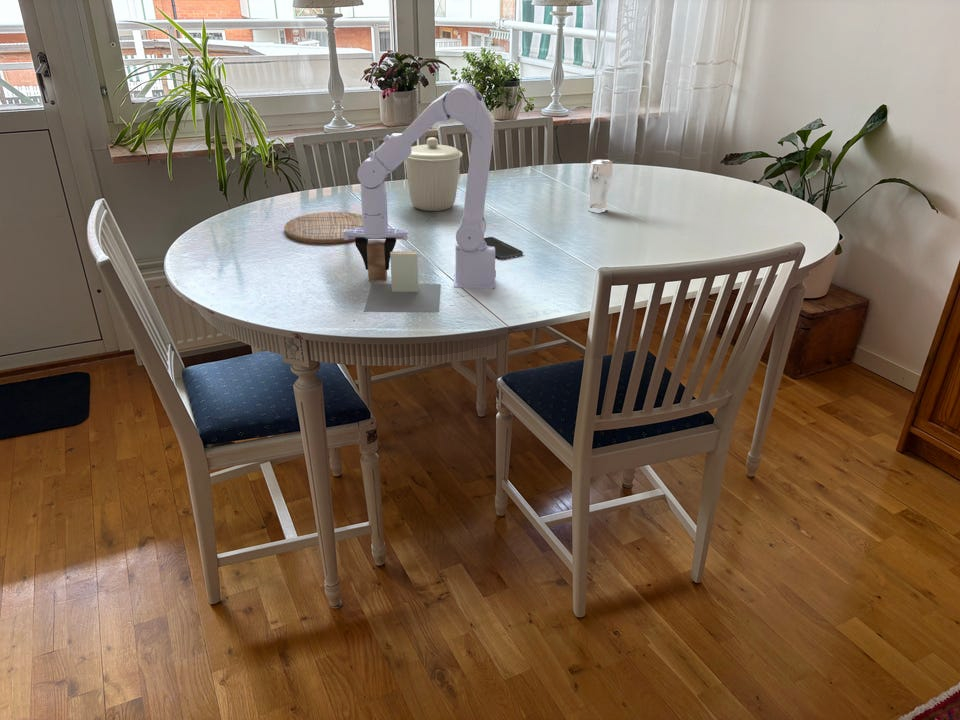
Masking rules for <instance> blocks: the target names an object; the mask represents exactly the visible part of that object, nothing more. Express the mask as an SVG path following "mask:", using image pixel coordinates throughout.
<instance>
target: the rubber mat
mask: <svg viewBox="0 0 960 720" xmlns="http://www.w3.org/2000/svg"><path fill="white" fill-rule="evenodd" d="M418 284H419V290H418V292H392V285H391V283H371V286H370V290H369V293H368V296H367V299H366V302H365V306H364V310H363V312H365V313H368V312H369V313H372V312H373V313H439V312H440V303H441V302H440V301H441V288H442V284H441V283H418Z"/></svg>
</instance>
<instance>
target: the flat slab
mask: <svg viewBox="0 0 960 720" xmlns="http://www.w3.org/2000/svg"><path fill="white" fill-rule="evenodd" d="M418 254H419V251H400V250H399V251H394V250H393V251H391V253H390V281H391V283H390V284H391V285H392V292H418V290H419V284H420V283H419V255H418Z"/></svg>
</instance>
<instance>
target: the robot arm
mask: <svg viewBox="0 0 960 720" xmlns="http://www.w3.org/2000/svg"><path fill="white" fill-rule="evenodd" d="M450 118H453V119H454V120H456V121H457V122H459V123H461V124H462V125H463V126H464V127H465V128H466V129H467V130H468V132H469V133H470V134H471V135H472V137H471V144H470V155H469V160H468V161H469V163H468V171H467V181H466V185H465V186H466V188H465V197H464V206H463V211H462V217H461V218H460V221H459V225H458V229H457V230H456V233H455V266H454V267H455V270H454V271H455V274H453V288H457V289H459V288H461V289H462V288H463V289H464V288H465V289H472V288H473V289H495V283H496V282H495V280H496V277H497V273H496V272H497V271H496V258H495V247H491V246H487V243H486V242H485V240H484V238H485V232H486V230H487V223H486V220H485V216H484V215H485V205H486V197H487V190H488V189H487V188H488V181H489V173H490V166H491V165H490V164H491V158H492V157H491V156H492V151H493V150H492V149H493V142H494V135H495V123H494V120H493V118H492V116H491V113H490V112H489V110H488V107H487V105H486V102H485V100H484V97H483V95H482V94H481V93H480V91H479V90H477V89H476V88H475V86H473V85H472V84H471V83H468V82H466V81H465V82H463V81H460V82H458V83H456V84H454V85H453V86H452V87H451V89H450V90H447V91H446V92H444V93H442V94H441V95H440V96H438V98H436V99H435V100H433V101H432V102H431V103H430V104H429V105H428V106H427V107H426V108H425V109H424V110H423V111H422V112H421V113H420V114H419V115H418V117H416V118H415V119H414V120H413V121H412V123H411V124H410V125H408V127H407V128H406V129H405V130H404V131H402V132H401V133H399V132H398V133H396V132H394V133H392V134H391V135H389V134H386V136H384V138H382V140H383V143H382V144H380V145H379V146H378V147H377V148H376V149H375V150H374V151H373V150H372V151H371V152H369V153H368V156H369V157H368V158H366V159H365V160H364V161H363V162H361V164H360V166H359V167H358V169H357V175H356V176H357V179H358V181H359V183H360V190H361V192H360V201H361V215H362V220H363V228H357V229H345V230H344V240H349V239H356V241H354V242H355V243H354V246H355V247H356V248H357V250H358V252H359V253H360V256H361V259H362V261H363V264H364V267H365V271H368V261H367V243H368V240H385V243H384V246H385V257H386V259H385V268H386V270H387V271H389V270H390V263H391V260H390V253H391V251H394V249H395V246H396V245H397V240H401V241H408V238H409V237H408V229H399V228H392V227H389V221H388V220H389V219H388V198H387V190H386V189H387V187H386V184H387V183H386V180H385V179H386V178H387V177H388V174H391V173H392V172H394V171H395V170H396V169H397V168H398V167H399V166H400V165H401V164H402V163H403V162H405V159H406V158H407V157H408V156H409V155H410V154H411V152H412V149H411V147H413V146H412V145H413V144H414V143H415V142H416V141H417V140H419V138H420V137H421V136H422V135H424V134H425V133H426V132H427V131H428V130H429V129H430V128H432V127H433V126H434V125H435V124H436V123H438V122H444V121H449V120H450Z"/></svg>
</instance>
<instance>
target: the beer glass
mask: <svg viewBox="0 0 960 720" xmlns="http://www.w3.org/2000/svg"><path fill="white" fill-rule="evenodd" d="M613 163H614V162H613V161H612V160H609V159H602V158H601V159H592V160H590V165H589V172H588V189H589V200H588V201H589V202H588V205H587V208H588V207H590V208H597V209H602V208H606V207H607V208H608V204H607V203H608V196H609V192H610V188H611V184H612V180H613Z"/></svg>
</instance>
